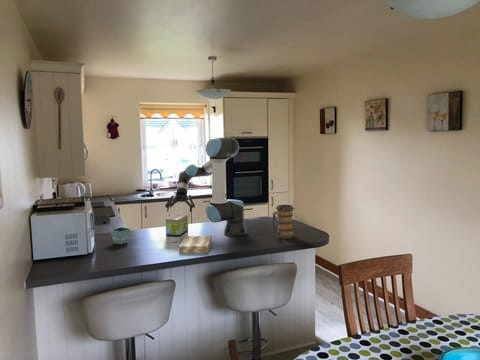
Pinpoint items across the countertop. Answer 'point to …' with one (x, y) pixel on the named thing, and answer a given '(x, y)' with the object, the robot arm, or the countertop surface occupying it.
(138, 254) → the countertop surface
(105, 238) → the countertop surface
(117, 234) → the flower pot
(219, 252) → the countertop surface
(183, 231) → the tea box
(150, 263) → the countertop surface
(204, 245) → the birch stand
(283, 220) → the mug
